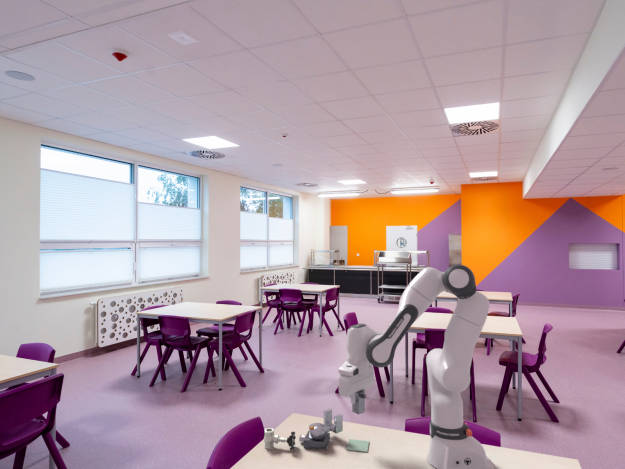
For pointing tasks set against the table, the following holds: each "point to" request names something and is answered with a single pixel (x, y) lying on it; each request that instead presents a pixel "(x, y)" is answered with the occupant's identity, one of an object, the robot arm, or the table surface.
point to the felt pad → (358, 445)
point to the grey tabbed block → (359, 402)
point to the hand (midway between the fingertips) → (357, 401)
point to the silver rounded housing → (326, 426)
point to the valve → (277, 439)
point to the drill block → (315, 442)
